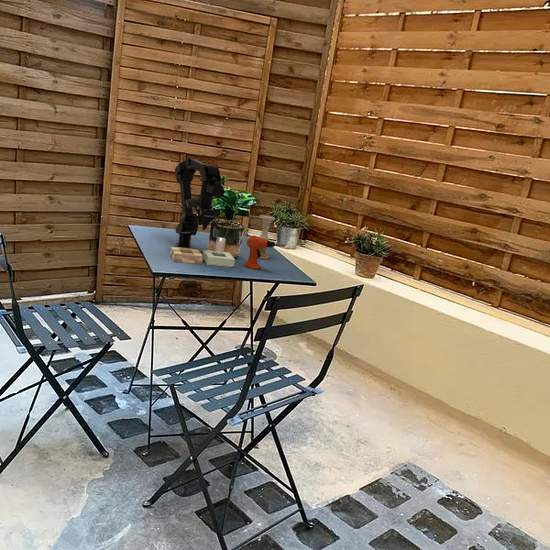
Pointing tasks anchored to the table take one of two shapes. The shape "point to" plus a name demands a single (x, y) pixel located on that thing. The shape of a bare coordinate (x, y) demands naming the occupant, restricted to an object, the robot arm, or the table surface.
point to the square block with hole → (218, 259)
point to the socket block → (186, 255)
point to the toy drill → (254, 245)
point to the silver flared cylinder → (219, 246)
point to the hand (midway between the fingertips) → (201, 227)
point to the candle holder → (265, 234)
